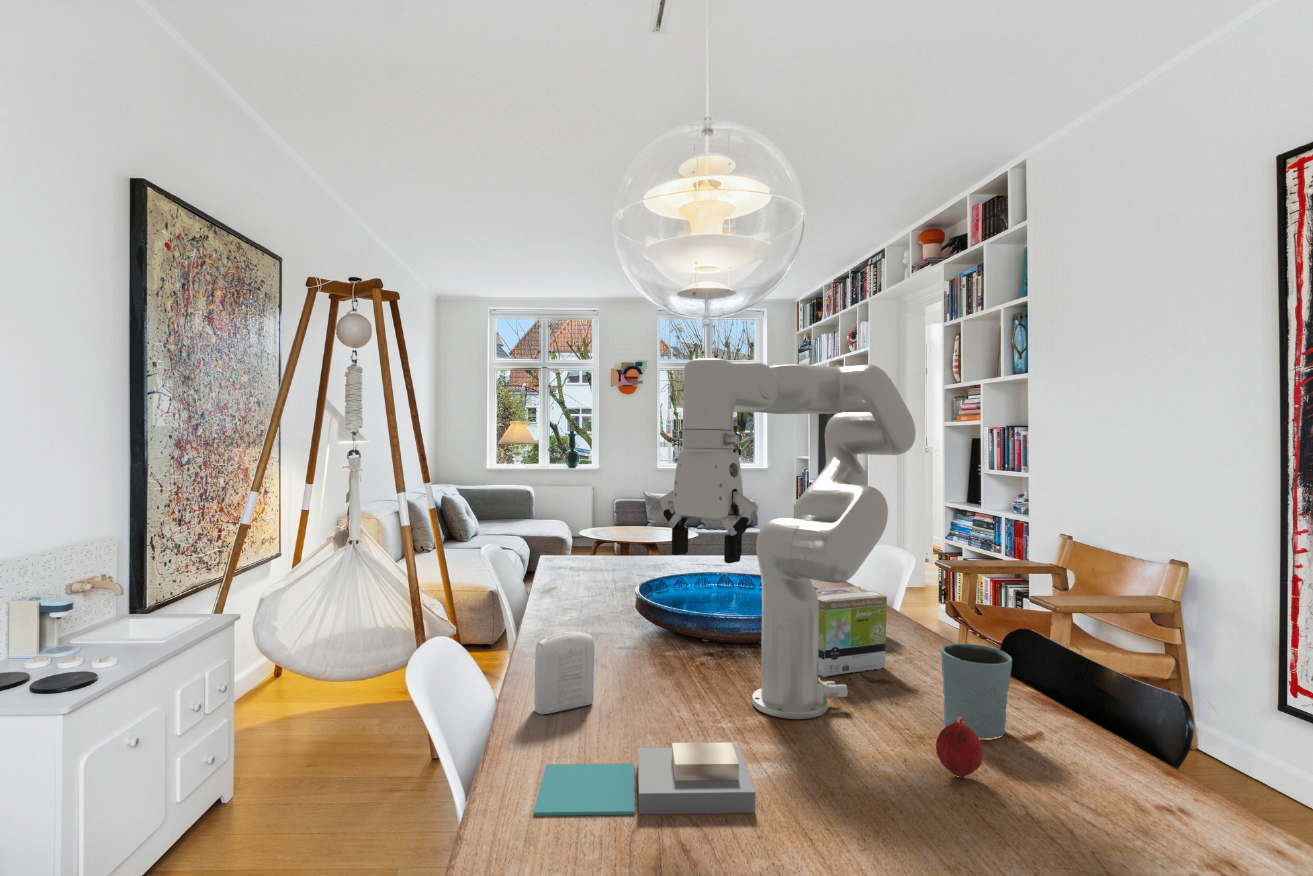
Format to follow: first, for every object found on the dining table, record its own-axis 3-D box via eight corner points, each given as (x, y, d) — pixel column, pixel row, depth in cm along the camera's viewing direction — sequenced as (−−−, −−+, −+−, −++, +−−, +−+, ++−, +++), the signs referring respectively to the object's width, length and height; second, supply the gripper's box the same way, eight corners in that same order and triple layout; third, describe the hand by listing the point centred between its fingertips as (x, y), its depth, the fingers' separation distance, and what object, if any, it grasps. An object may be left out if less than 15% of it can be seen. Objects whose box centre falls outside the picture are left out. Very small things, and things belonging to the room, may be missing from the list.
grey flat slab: (739, 765, 94) (739, 747, 94) (755, 813, 82) (755, 792, 82) (637, 766, 93) (637, 748, 93) (638, 814, 82) (639, 793, 82)
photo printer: (585, 696, 119) (586, 625, 119) (597, 705, 115) (598, 631, 115) (530, 709, 113) (531, 634, 113) (541, 718, 109) (541, 641, 109)
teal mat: (633, 766, 93) (634, 763, 93) (634, 814, 81) (634, 811, 81) (546, 767, 93) (546, 764, 93) (533, 815, 81) (533, 812, 81)
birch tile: (731, 757, 91) (731, 742, 91) (738, 779, 85) (739, 763, 85) (671, 758, 91) (672, 743, 91) (674, 780, 85) (675, 764, 85)
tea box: (825, 679, 128) (825, 601, 128) (794, 663, 138) (794, 590, 138) (887, 669, 134) (888, 594, 135) (853, 654, 144) (854, 584, 144)
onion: (980, 793, 87) (980, 730, 87) (932, 780, 90) (932, 720, 90) (985, 774, 92) (985, 715, 92) (940, 763, 95) (940, 706, 95)
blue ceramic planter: (955, 711, 114) (956, 639, 114) (1021, 730, 107) (1021, 653, 107) (929, 728, 107) (930, 652, 107) (997, 750, 99) (998, 668, 99)
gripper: (771, 443, 98) (769, 562, 98) (678, 442, 110) (676, 549, 109) (742, 442, 93) (739, 569, 92) (647, 441, 104) (645, 553, 104)
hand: (705, 558), depth 101 cm, fingers open, 9 cm apart
